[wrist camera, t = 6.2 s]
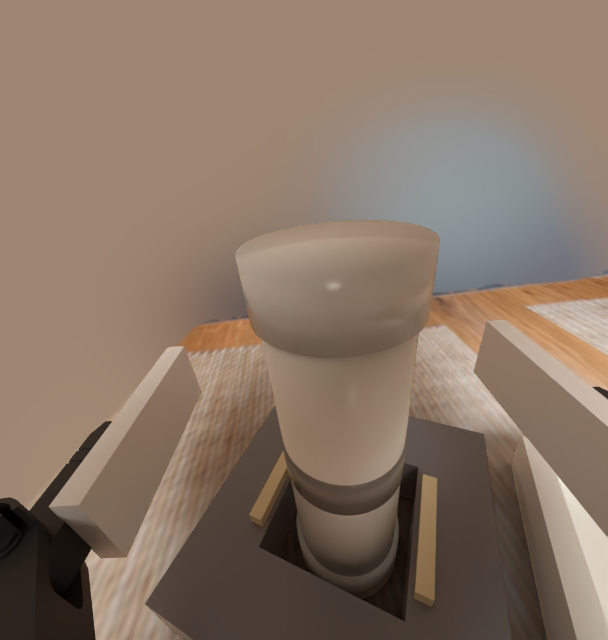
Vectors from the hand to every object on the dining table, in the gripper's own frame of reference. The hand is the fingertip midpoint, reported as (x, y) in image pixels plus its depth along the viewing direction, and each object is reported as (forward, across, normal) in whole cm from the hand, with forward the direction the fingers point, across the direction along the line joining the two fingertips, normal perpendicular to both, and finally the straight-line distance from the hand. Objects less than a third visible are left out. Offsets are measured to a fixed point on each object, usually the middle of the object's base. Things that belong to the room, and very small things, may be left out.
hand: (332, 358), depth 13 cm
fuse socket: (-3, 0, -9) cm, 9 cm away
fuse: (-3, 0, -9) cm, 10 cm away
